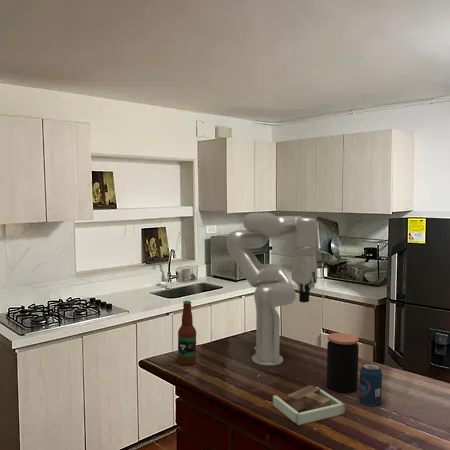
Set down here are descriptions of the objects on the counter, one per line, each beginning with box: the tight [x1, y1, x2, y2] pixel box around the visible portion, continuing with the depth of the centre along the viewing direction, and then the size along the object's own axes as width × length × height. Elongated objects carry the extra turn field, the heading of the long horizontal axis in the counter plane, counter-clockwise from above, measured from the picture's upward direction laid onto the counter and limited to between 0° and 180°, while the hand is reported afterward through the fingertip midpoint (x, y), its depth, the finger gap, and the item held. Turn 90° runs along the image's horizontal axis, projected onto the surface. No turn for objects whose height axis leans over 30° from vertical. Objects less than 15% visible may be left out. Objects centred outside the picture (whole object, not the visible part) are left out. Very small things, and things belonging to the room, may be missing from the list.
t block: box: [286, 384, 331, 412], centre depth 145 cm, size 11×12×4 cm
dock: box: [272, 386, 346, 426], centre depth 144 cm, size 14×17×3 cm
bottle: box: [177, 300, 197, 367], centre depth 182 cm, size 7×7×25 cm
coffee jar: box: [326, 332, 360, 394], centre depth 161 cm, size 11×11×18 cm
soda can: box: [358, 362, 383, 406], centre depth 149 cm, size 7×7×12 cm
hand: (304, 301), depth 165 cm, fingers closed
